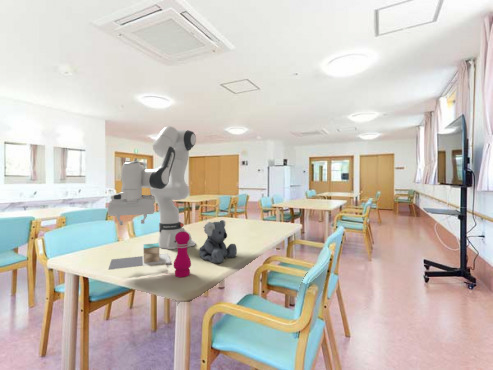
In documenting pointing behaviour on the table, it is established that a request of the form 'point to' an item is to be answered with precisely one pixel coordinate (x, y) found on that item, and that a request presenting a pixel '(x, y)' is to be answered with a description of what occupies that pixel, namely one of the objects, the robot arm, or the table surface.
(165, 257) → the mat
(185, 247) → the pepper mill
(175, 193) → the robot arm
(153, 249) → the beech block
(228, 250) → the koala plush
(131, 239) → the table surface
